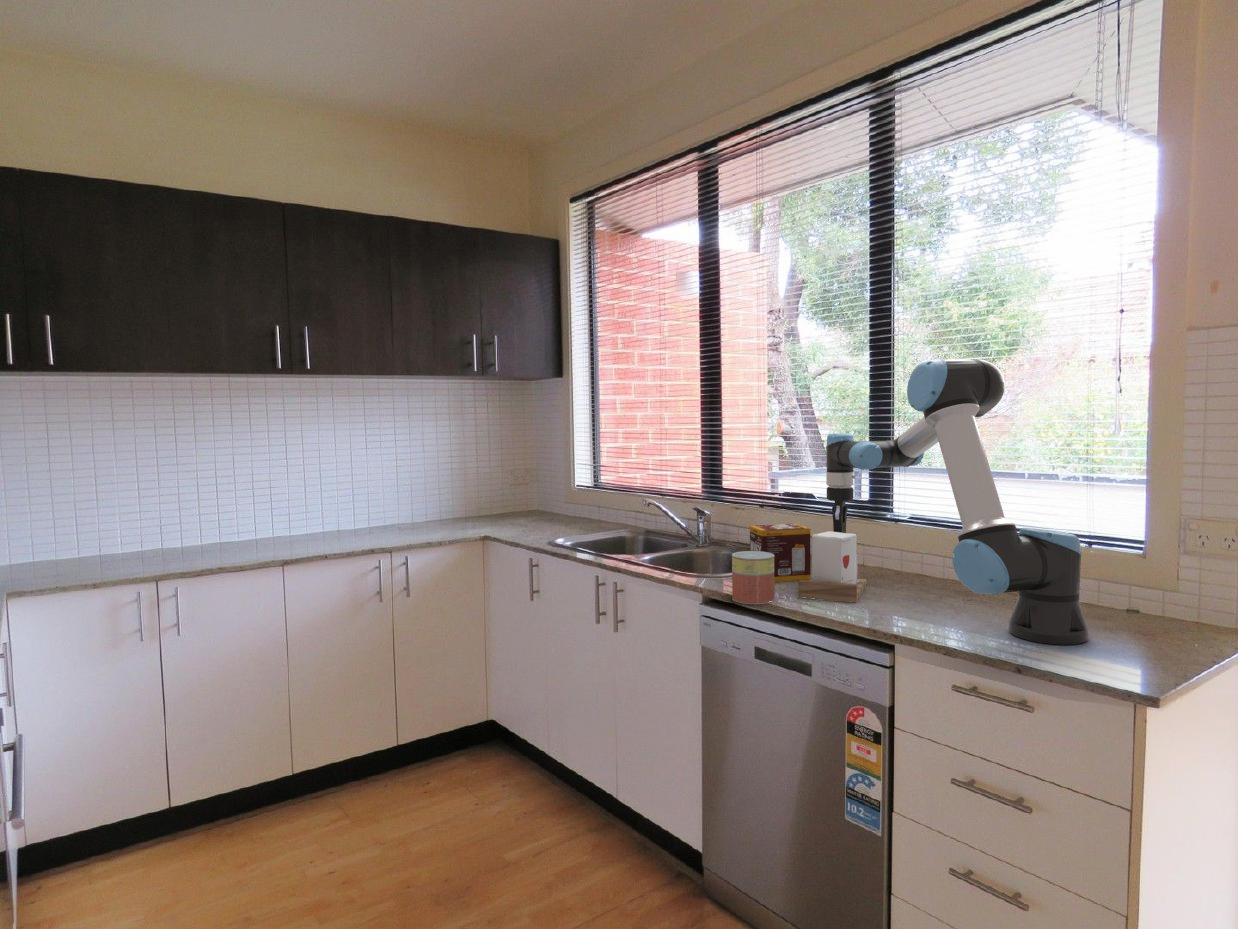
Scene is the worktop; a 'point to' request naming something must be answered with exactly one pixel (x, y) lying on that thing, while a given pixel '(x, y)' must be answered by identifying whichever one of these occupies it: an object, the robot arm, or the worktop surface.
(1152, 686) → the worktop surface
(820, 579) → the supplement box
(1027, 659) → the worktop surface
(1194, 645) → the worktop surface
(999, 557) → the robot arm
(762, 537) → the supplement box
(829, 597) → the shelf board
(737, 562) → the canned food
